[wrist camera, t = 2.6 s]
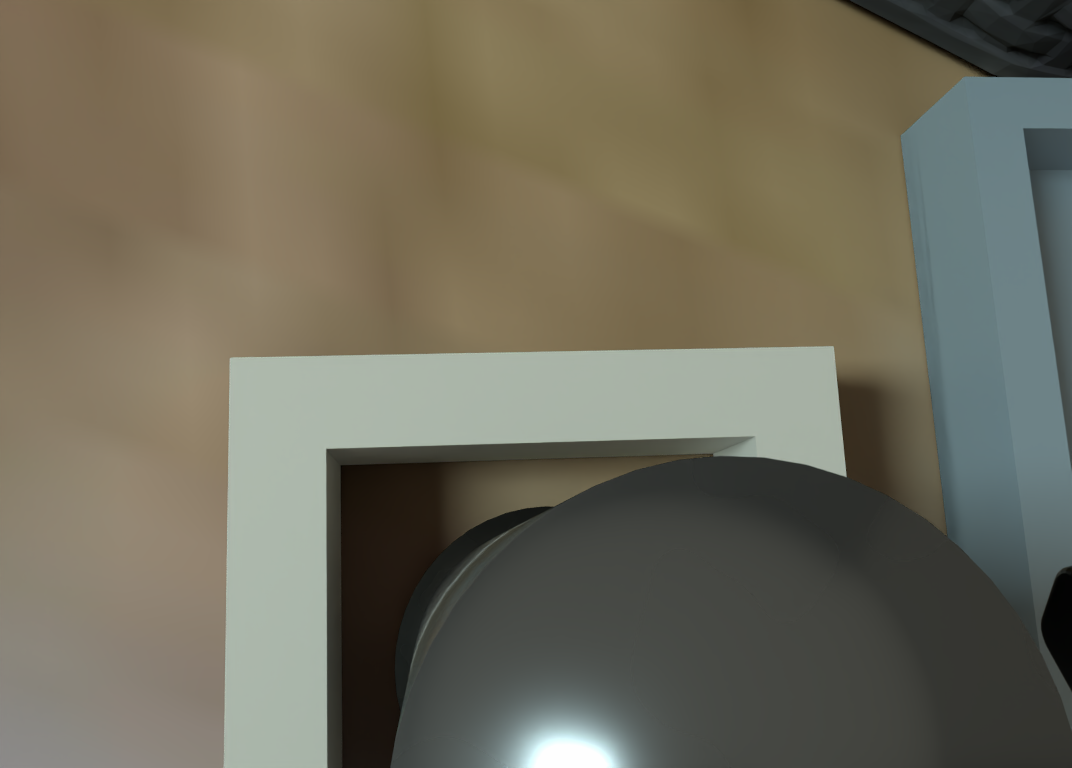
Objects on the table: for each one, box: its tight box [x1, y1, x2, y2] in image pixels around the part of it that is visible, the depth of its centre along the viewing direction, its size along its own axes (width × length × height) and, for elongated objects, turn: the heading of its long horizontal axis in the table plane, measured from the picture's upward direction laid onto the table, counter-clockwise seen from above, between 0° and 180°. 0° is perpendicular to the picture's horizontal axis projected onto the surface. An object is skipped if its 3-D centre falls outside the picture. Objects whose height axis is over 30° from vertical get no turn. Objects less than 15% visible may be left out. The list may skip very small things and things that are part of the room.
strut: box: [390, 456, 1072, 768], centre depth 12 cm, size 5×5×12 cm
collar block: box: [224, 346, 847, 768], centre depth 16 cm, size 10×10×2 cm
